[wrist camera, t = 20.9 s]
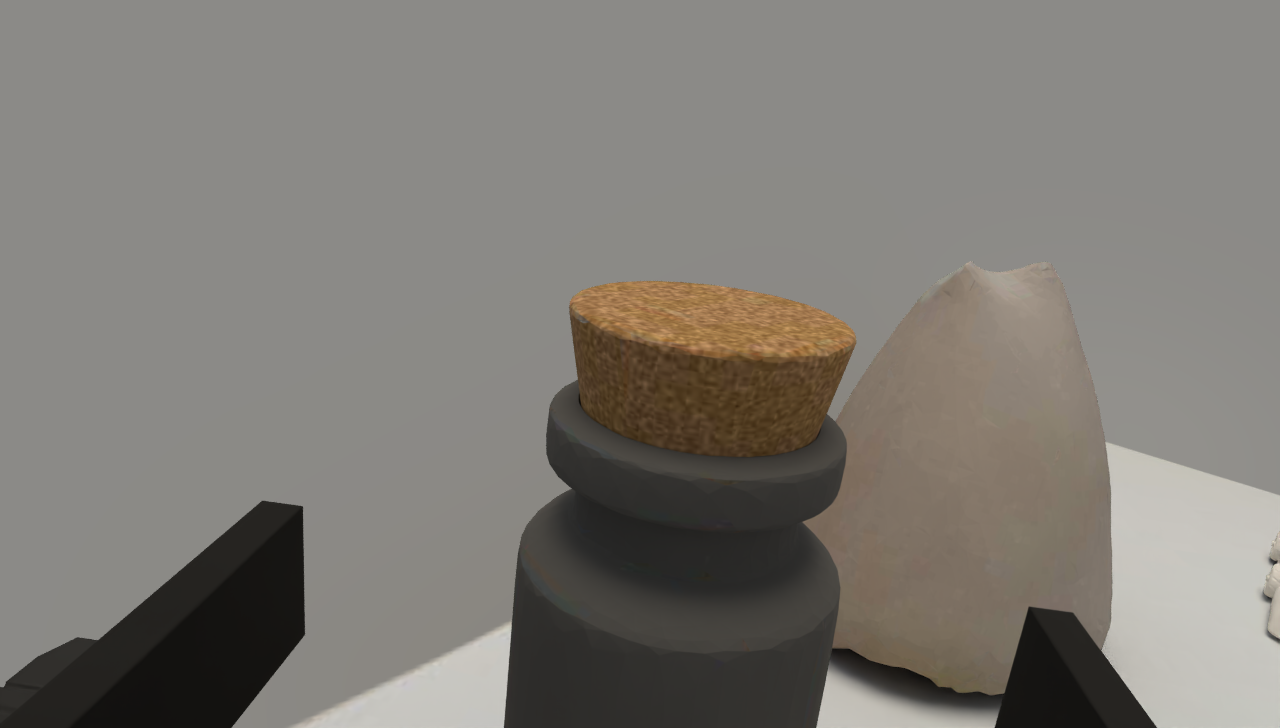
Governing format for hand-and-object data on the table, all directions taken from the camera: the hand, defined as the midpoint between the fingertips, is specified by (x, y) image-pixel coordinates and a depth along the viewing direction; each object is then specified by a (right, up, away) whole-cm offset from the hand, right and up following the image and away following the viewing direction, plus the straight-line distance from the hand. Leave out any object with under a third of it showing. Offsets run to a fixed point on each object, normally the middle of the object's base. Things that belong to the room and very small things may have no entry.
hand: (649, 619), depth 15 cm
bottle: (-1, -9, +3) cm, 10 cm away
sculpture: (+12, -6, +19) cm, 23 cm away
